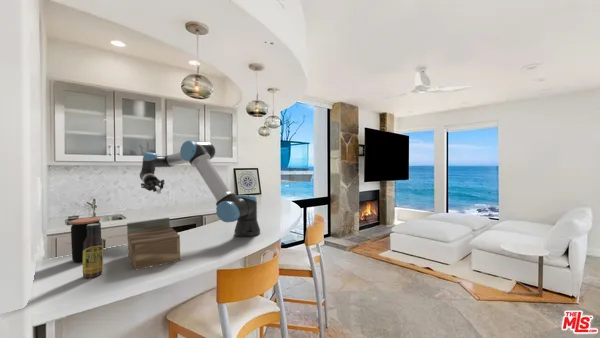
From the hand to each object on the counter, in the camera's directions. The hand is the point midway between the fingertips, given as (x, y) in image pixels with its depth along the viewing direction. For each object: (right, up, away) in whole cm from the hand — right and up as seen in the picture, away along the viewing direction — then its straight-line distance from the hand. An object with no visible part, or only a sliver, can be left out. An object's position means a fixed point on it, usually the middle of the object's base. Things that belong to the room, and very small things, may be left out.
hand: (159, 191), depth 150 cm
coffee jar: (-19, -29, -27) cm, 44 cm away
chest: (+12, -28, -28) cm, 41 cm away
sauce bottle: (-2, -29, -46) cm, 54 cm away
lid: (+11, -21, -27) cm, 36 cm away
